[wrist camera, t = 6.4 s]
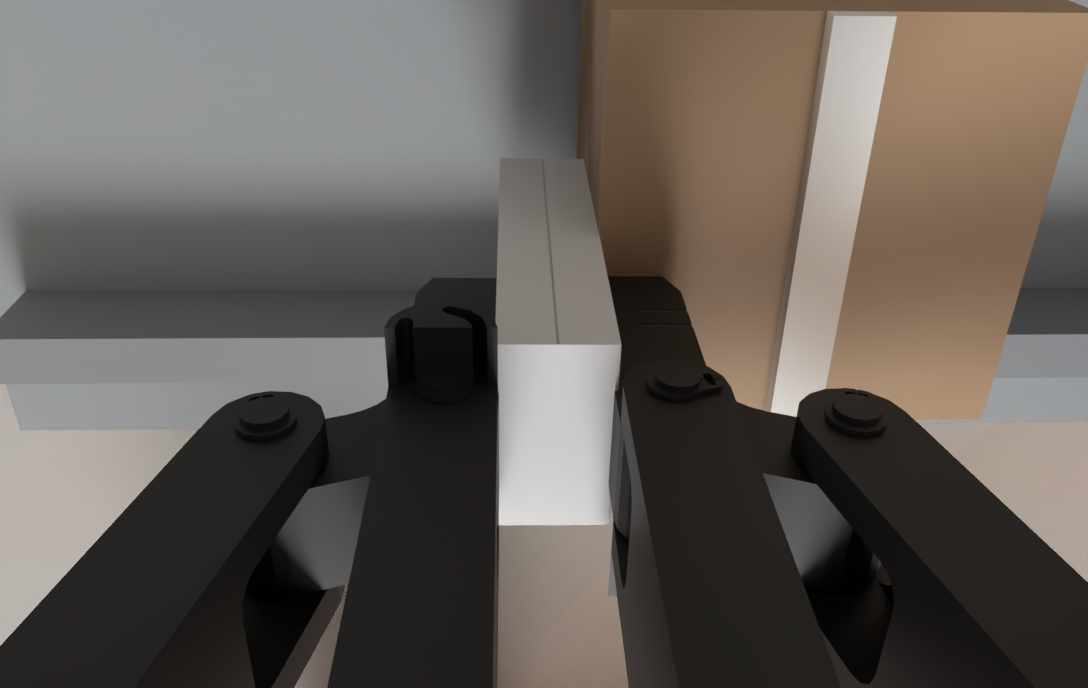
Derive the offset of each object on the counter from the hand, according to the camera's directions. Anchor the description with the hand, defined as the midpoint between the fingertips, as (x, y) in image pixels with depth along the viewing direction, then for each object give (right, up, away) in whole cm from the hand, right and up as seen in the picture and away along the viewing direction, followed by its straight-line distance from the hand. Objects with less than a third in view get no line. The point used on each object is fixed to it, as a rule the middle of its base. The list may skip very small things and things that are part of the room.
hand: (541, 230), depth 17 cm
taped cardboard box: (+4, +2, +1) cm, 4 cm away
